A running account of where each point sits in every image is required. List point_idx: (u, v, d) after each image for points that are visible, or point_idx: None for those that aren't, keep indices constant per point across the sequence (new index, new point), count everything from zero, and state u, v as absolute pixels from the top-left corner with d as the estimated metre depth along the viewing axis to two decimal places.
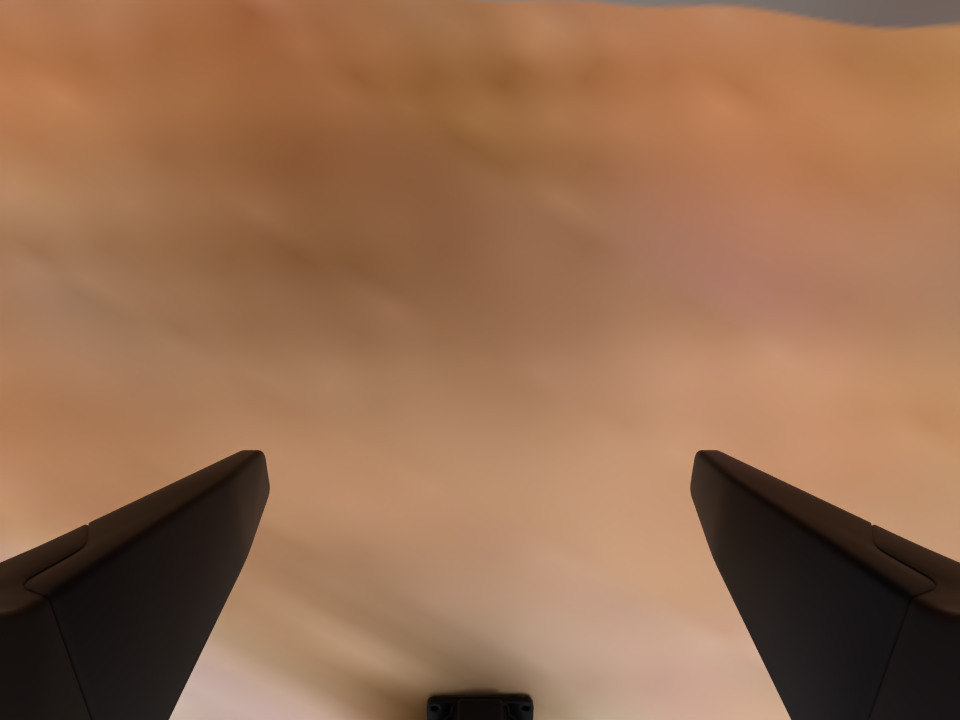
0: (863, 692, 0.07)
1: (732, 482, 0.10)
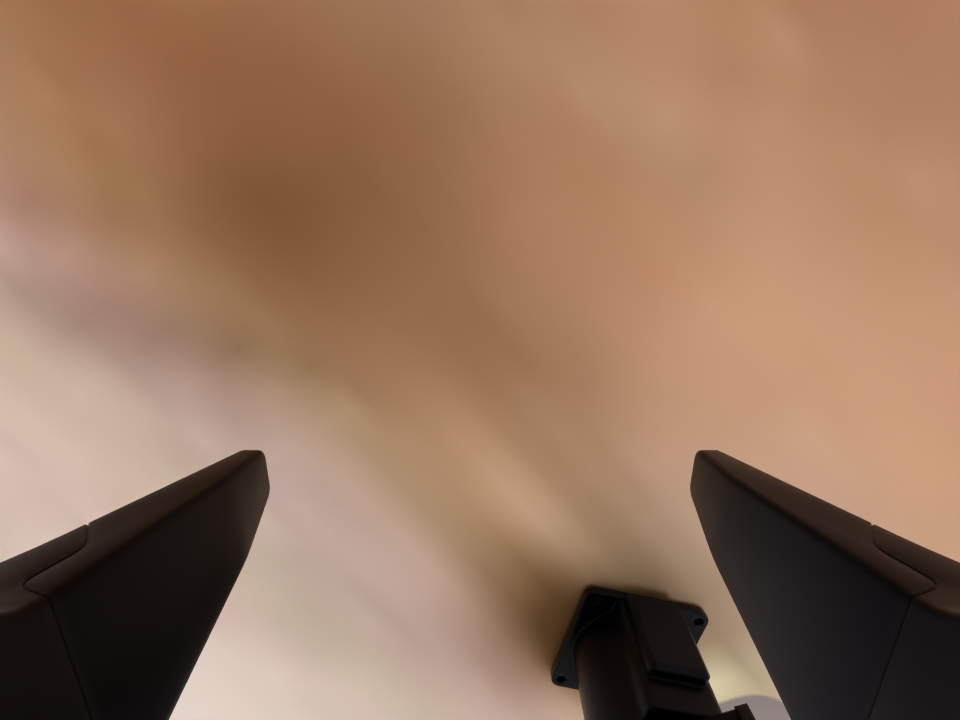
0: (863, 692, 0.07)
1: (732, 482, 0.10)
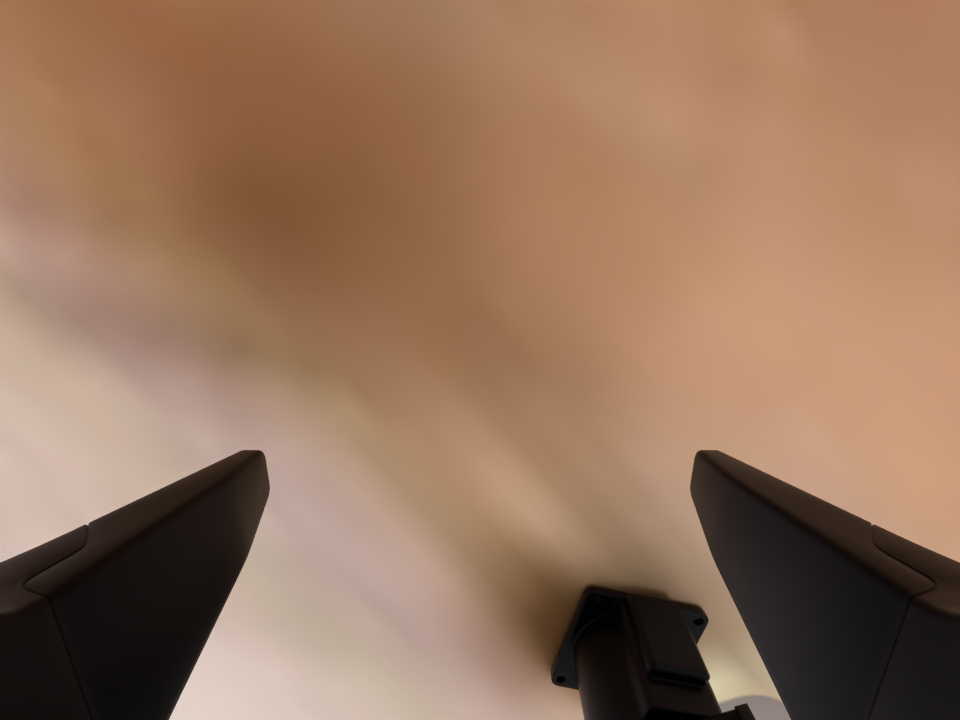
0: (863, 692, 0.07)
1: (732, 482, 0.10)
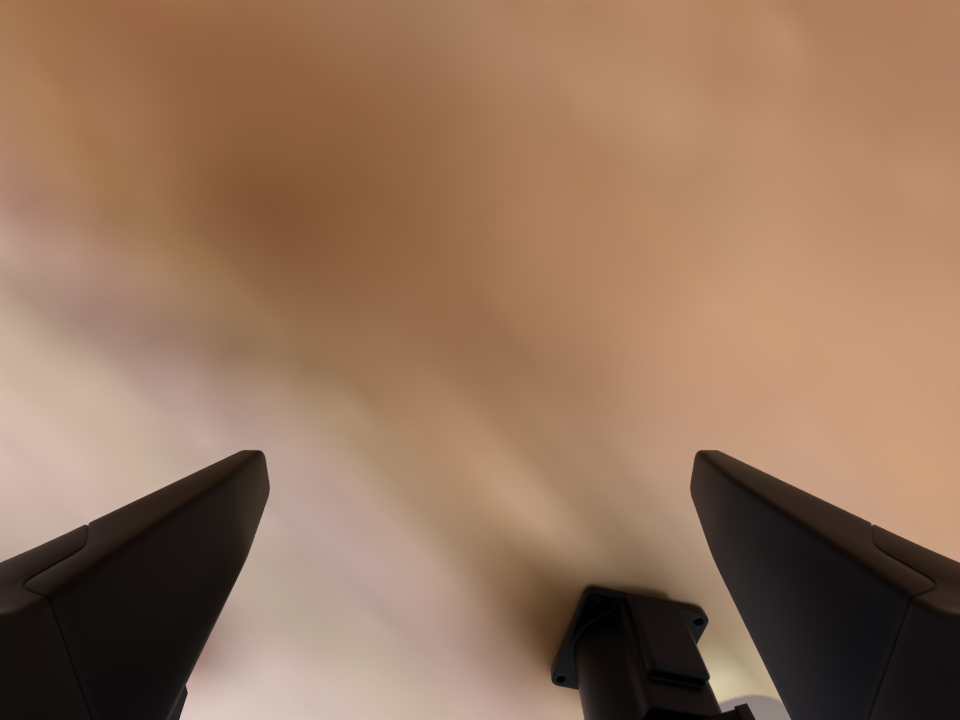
0: (863, 692, 0.07)
1: (732, 482, 0.10)
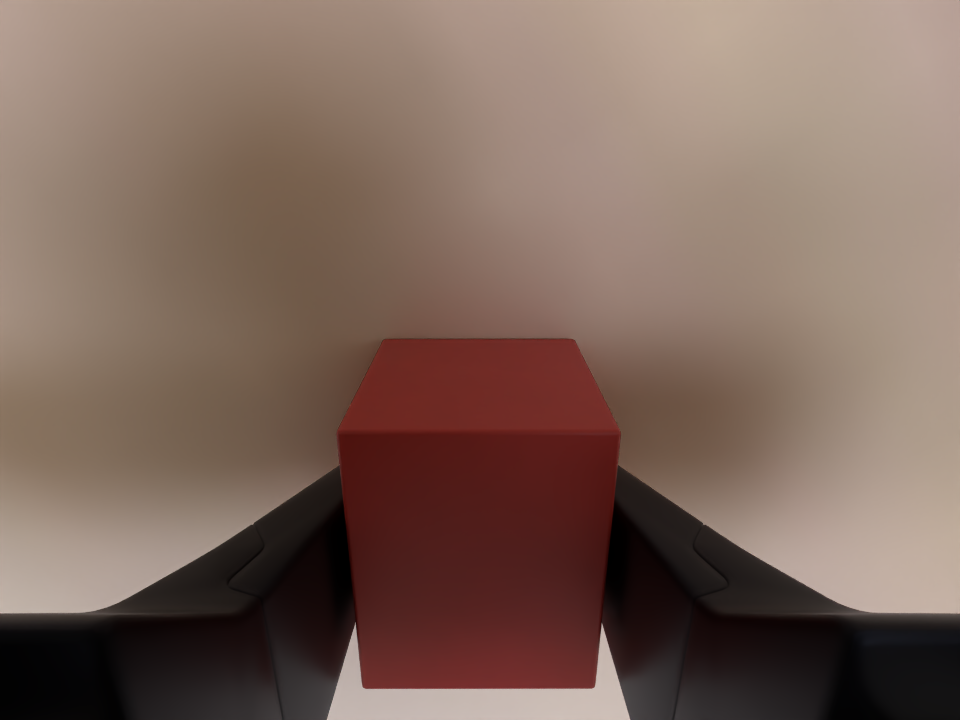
0: (670, 692, 0.07)
1: None
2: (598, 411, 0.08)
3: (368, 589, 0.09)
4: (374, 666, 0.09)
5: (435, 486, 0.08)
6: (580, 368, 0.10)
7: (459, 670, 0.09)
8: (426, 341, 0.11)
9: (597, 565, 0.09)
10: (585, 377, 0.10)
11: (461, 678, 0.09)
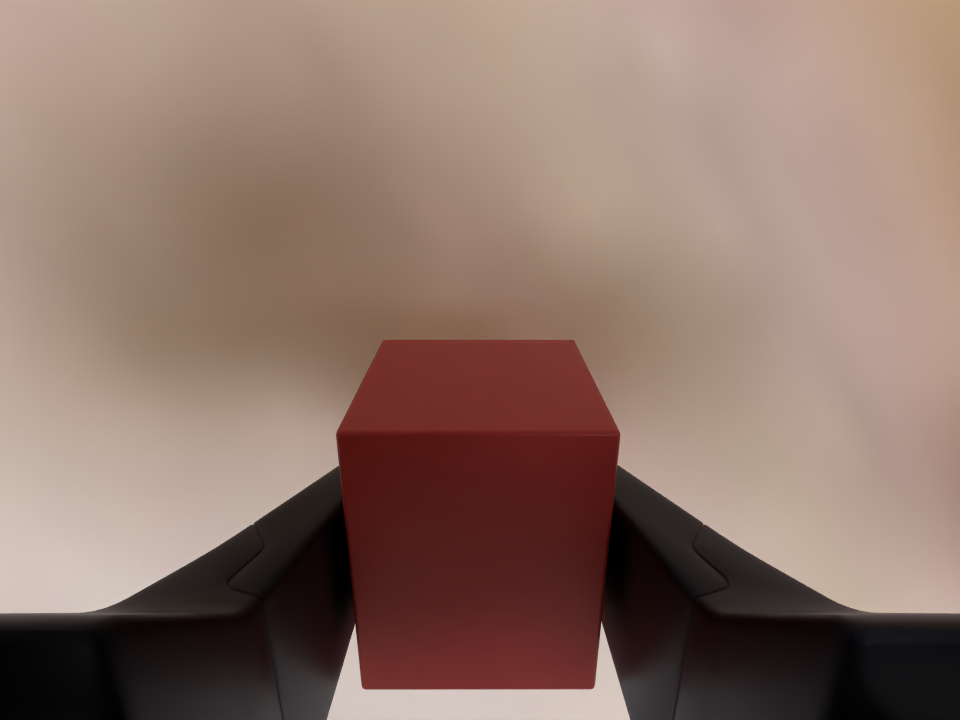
0: (669, 692, 0.07)
1: None
2: (597, 412, 0.08)
3: (368, 590, 0.09)
4: (374, 667, 0.09)
5: (434, 486, 0.08)
6: (580, 369, 0.10)
7: (459, 671, 0.09)
8: (426, 342, 0.11)
9: (596, 566, 0.09)
10: (585, 378, 0.10)
11: (460, 679, 0.09)
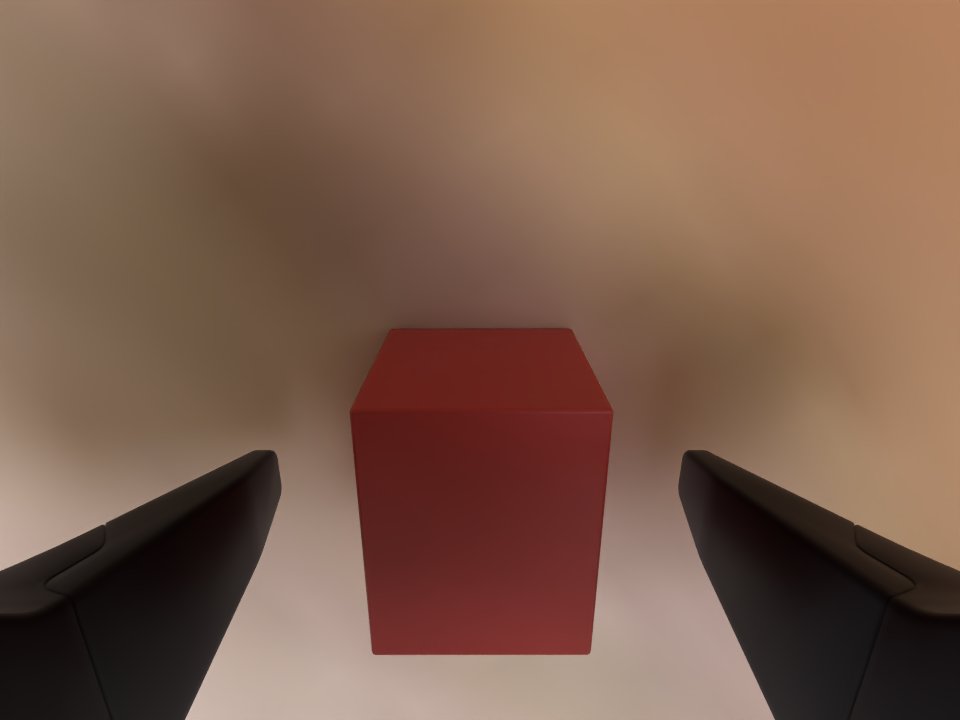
0: (843, 692, 0.07)
1: (718, 482, 0.10)
2: (592, 392, 0.09)
3: (378, 559, 0.09)
4: (383, 633, 0.10)
5: (441, 461, 0.09)
6: (576, 355, 0.11)
7: (463, 636, 0.10)
8: (431, 330, 0.12)
9: (592, 536, 0.09)
10: (581, 362, 0.10)
11: (464, 644, 0.10)
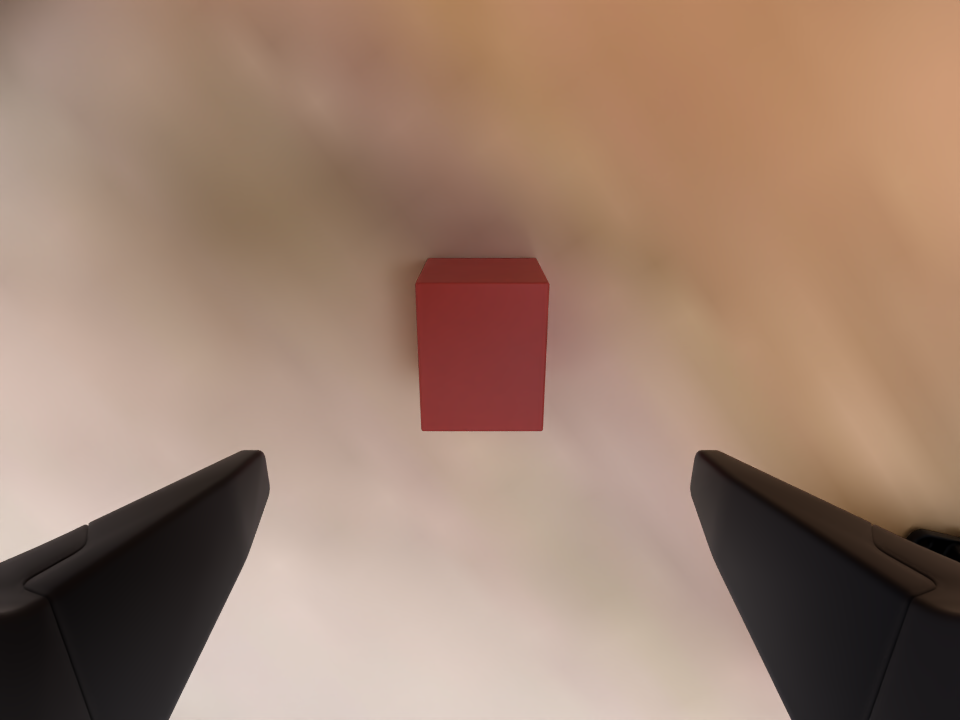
0: (863, 692, 0.07)
1: (732, 482, 0.10)
2: (540, 278, 0.17)
3: (427, 369, 0.17)
4: (428, 416, 0.18)
5: (461, 311, 0.17)
6: (536, 266, 0.19)
7: (472, 419, 0.18)
8: (452, 258, 0.20)
9: (540, 356, 0.17)
10: (537, 269, 0.18)
11: (472, 424, 0.18)
